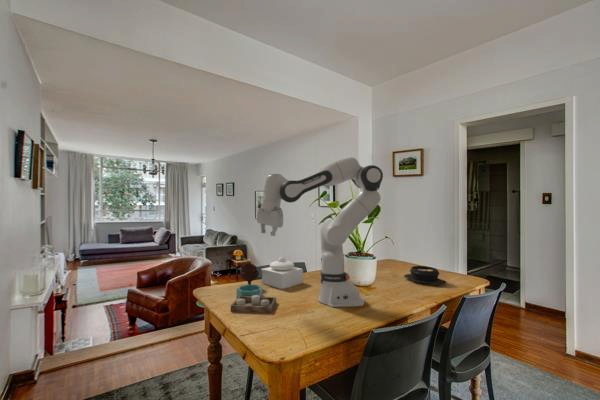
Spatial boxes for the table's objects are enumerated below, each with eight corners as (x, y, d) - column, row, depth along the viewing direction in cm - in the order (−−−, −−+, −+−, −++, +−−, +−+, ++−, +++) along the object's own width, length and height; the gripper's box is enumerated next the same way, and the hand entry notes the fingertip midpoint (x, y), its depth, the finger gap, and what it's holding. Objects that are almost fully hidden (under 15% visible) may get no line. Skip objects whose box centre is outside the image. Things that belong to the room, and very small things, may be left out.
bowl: (263, 294, 151) (263, 284, 151) (258, 301, 139) (258, 292, 139) (241, 293, 152) (241, 284, 152) (234, 300, 140) (234, 291, 140)
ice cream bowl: (255, 291, 155) (255, 264, 155) (236, 290, 157) (236, 263, 157) (262, 286, 165) (262, 260, 165) (243, 285, 167) (244, 259, 167)
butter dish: (302, 283, 173) (303, 256, 173) (282, 289, 159) (282, 261, 159) (282, 278, 184) (282, 253, 184) (260, 283, 171) (261, 257, 171)
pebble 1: (246, 307, 130) (246, 298, 130) (243, 310, 127) (243, 301, 127) (237, 307, 131) (238, 298, 131) (235, 310, 127) (235, 301, 127)
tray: (276, 303, 137) (276, 297, 137) (271, 314, 124) (271, 307, 124) (239, 302, 138) (239, 296, 138) (230, 312, 125) (230, 305, 125)
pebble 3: (269, 308, 129) (269, 299, 129) (268, 311, 126) (268, 302, 126) (261, 307, 130) (261, 299, 130) (259, 311, 126) (259, 302, 126)
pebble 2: (260, 303, 135) (260, 295, 135) (258, 306, 132) (258, 297, 132) (252, 303, 136) (252, 294, 136) (250, 306, 132) (250, 297, 132)
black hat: (397, 279, 182) (397, 266, 182) (413, 275, 194) (413, 263, 194) (436, 289, 162) (436, 274, 162) (451, 284, 174) (452, 270, 174)
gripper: (288, 208, 135) (284, 237, 134) (266, 205, 151) (263, 231, 151) (276, 207, 131) (273, 237, 131) (256, 204, 148) (252, 231, 147)
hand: (267, 234), depth 141 cm, fingers open, 8 cm apart
